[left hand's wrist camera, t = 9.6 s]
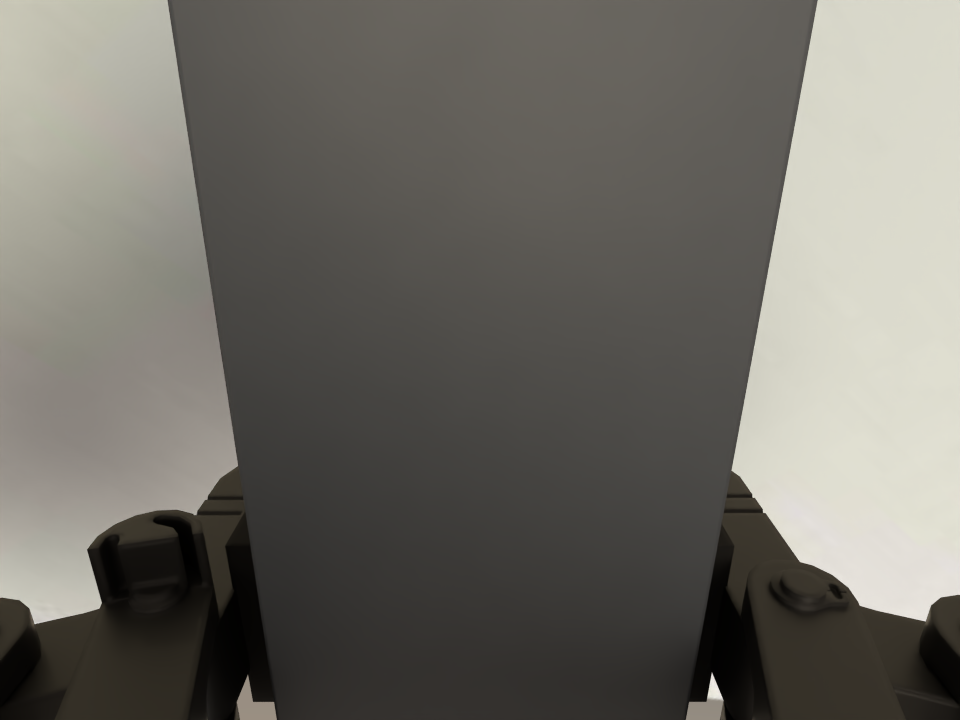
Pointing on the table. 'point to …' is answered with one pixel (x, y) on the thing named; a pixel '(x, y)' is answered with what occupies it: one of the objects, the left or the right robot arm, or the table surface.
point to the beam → (487, 332)
